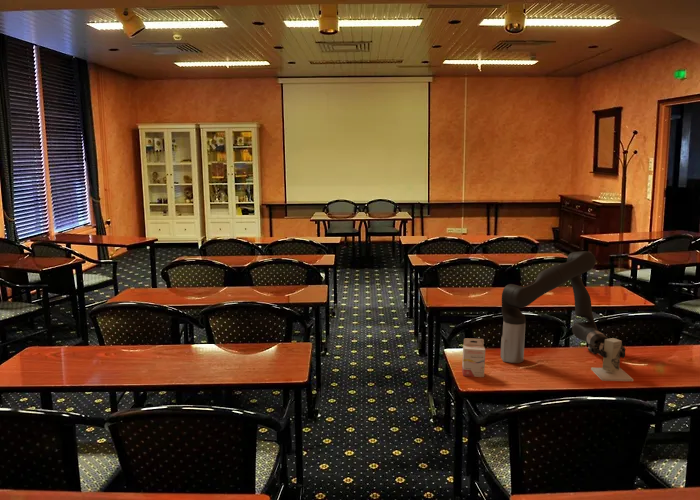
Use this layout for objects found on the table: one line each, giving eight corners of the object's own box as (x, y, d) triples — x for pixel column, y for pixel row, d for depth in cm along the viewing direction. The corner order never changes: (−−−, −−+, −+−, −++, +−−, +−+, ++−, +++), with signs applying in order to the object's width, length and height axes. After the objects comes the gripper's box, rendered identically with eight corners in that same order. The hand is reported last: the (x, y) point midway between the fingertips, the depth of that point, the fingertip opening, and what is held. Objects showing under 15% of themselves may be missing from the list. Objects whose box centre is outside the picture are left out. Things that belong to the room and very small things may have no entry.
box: (611, 373, 223) (613, 342, 221) (601, 369, 227) (604, 339, 225) (619, 370, 226) (622, 340, 224) (610, 367, 230) (612, 337, 227)
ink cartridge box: (463, 376, 225) (464, 341, 222) (461, 372, 230) (462, 337, 227) (484, 377, 224) (486, 342, 222) (482, 372, 229) (484, 338, 226)
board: (602, 380, 220) (602, 378, 220) (590, 369, 232) (591, 367, 232) (633, 381, 219) (633, 379, 219) (620, 369, 231) (620, 368, 231)
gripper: (582, 333, 239) (597, 346, 223) (616, 333, 238) (633, 347, 222) (580, 349, 240) (595, 364, 224) (614, 350, 240) (632, 364, 223)
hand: (614, 355), depth 223 cm, fingers closed on box, 6 cm apart
